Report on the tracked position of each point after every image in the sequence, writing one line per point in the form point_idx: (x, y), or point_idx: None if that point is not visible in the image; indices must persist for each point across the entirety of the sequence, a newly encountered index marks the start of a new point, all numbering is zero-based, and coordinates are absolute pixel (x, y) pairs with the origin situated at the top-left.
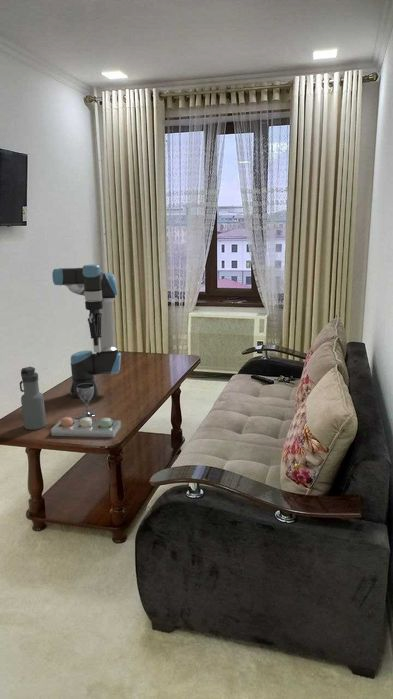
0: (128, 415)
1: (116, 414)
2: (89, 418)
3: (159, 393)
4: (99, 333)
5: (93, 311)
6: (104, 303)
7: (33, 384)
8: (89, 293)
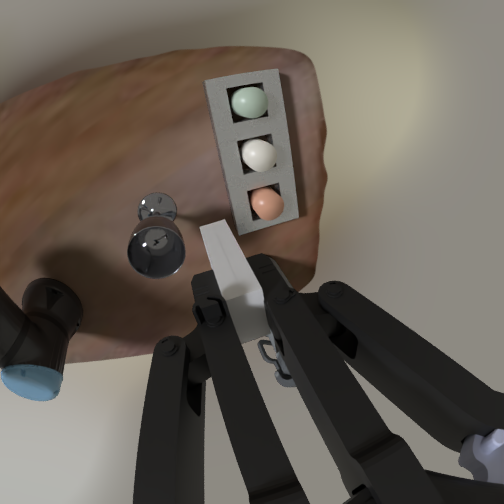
0: (120, 104)
1: (124, 141)
2: (253, 151)
3: None
4: (224, 342)
5: None
6: None
7: None
8: None
